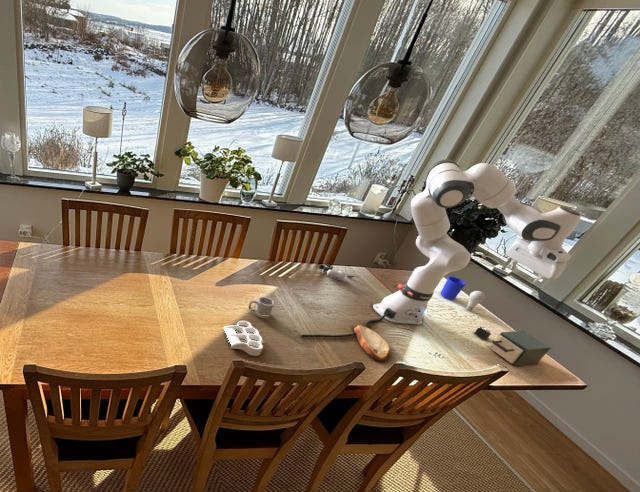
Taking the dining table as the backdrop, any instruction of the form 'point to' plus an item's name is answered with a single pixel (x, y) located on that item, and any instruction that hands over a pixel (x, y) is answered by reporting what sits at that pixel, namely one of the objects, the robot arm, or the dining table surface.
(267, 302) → the mug
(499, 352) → the drawer
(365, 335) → the bread slice
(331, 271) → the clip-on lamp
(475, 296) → the lightbulb
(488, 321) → the dining table surface
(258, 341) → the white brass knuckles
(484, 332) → the binder clip
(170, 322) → the dining table surface
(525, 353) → the cabinet
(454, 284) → the mug
